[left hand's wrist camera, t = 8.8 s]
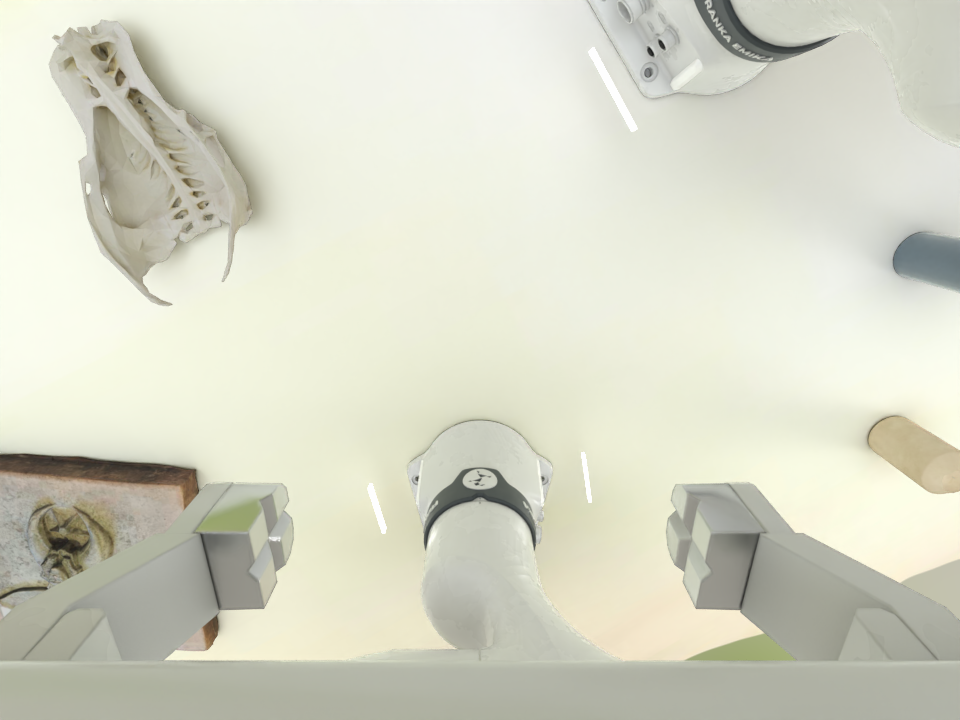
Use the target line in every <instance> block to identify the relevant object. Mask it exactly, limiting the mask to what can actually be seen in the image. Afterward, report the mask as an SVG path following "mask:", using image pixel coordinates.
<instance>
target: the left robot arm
mask: <svg viewBox="0 0 960 720" xmlns="http://www.w3.org/2000/svg"><path fill="white" fill-rule="evenodd" d="M582 460H583V467H584V475H585V482H586V489H587V496H588V501H589V502H591V494H590V487H589V479H588V472H587V465H586V457H585V454H584V452H582ZM407 473H408V477H409V480H410V484H411V487H412V491H413V494H414V497H415V501H416V505H417V508H418V511H419V514H420V518H421V521H422V525H423V528H424V546H425V550H426V555H425V562H424V570H423V577H422V584H421V600H422V605H423V608H424V611H425V613H426V615H427V617H428V619H429V621H430V622H431V624H432V625H433V627H434V628H435V630H436V631H437V632H438V634H439V635H440V636H441V637H442V638H443V639H444V640H445V641H447V642H448V643H449V644H451V645H452V646H454V647H455V648H457V649H394V650H388V651H384V652H379V653H374V654H369V655H364V656H360V657H356V658H352V659H348V660H344V661H163V660H164V659H166V658H167V657H168V656H169V655H170V654H172V653H173V652H174V651H175V650H176V649H177V648H179V647H180V646H181V645H182V644H183V643H184V642H186V641H187V640H188V639H189V638H190V637H191V636H193V635H194V634H195V633H196V632H197V631H198V630H200V629H201V628H202V627H203V626H204V625H205V624H207V623H208V622H209V621H210V620H211V619H212V618H214V617H215V616H216V615H217V614H218V613H219V610H239V609H264V608H265V606H266V604H267V602H268V600H269V598H270V596H271V594H272V592H273V590H274V587H275V585H276V583H277V578H276V571H277V570H279V569H280V568H282V567H283V566H284V565H286V562H287V560H288V558H289V556H290V553H291V549H292V544H293V522H292V518H291V517H290V516H289V515H288V514H287V513H286V512H285V511H284V509H285V507H286V505H287V503H288V502H289V498H288V493H287V488H286V487H285V486H284V485H283V484H282V483H233V482H212V483H209V484H206V485H205V486H204V487H203V489H202V490H201V491H200V492H199V493H198V494H197V496H196V497H195V498H194V499H193V500H192V502H191V503H190V504H189V505H188V506H187V507H186V509H185V510H184V511H183V512H182V513H181V514H180V516H179V517H178V518H177V519H176V520H175V521H174V523H173V524H172V525H171V526H170V527H169V529H168V530H167V531H166V532H165V533H156V534H154V535H153V536H151V537H149V538H147V539H145V540H143V541H141V542H139V543H137V544H135V545H133V546H131V547H129V548H127V549H125V550H123V551H121V552H120V553H118V554H116V555H114V556H112V557H110V558H108V559H106V560H104V561H102V562H100V563H98V564H96V565H94V566H92V567H90V568H89V569H87V570H85V571H83V572H81V573H79V574H77V575H75V576H73V577H71V578H69V579H67V580H65V581H63V582H61V583H59V584H57V585H56V586H54V587H52V588H50V589H48V590H46V591H44V592H42V593H40V594H38V595H36V596H34V597H32V598H30V599H28V600H26V601H25V602H23V603H21V604H19V605H17V606H15V607H14V608H13V609H12V610H11V611H10V612H9V613H8V614H7V615H6V616H5V617H4V618H3V619H2V620H0V720H960V620H959V619H958V618H957V617H956V616H955V615H954V614H952V613H951V612H950V611H949V610H948V609H947V608H946V607H945V606H943V605H941V604H939V603H937V602H935V601H933V600H931V599H929V598H927V597H925V596H924V595H922V594H920V593H918V592H916V591H914V590H912V589H910V588H908V587H906V586H904V585H902V584H900V583H898V582H896V581H895V580H893V579H891V578H889V577H887V576H885V575H883V574H881V573H879V572H877V571H875V570H873V569H871V568H869V567H867V566H866V565H864V564H862V563H860V562H858V561H856V560H854V559H852V558H850V557H848V556H846V555H844V554H842V553H840V552H838V551H836V550H835V549H833V548H831V547H829V546H827V545H825V544H823V543H821V542H819V541H817V540H815V539H813V538H811V537H809V536H807V535H806V534H804V533H795V532H794V531H793V530H792V529H791V527H790V526H789V525H788V524H787V523H786V522H785V520H784V519H783V518H782V517H781V516H780V514H779V513H778V512H777V511H776V510H775V509H774V507H773V506H772V505H771V504H770V503H769V502H768V500H767V499H766V498H765V497H764V496H763V495H762V493H761V492H760V491H759V490H758V489H757V488H756V486H755V485H753V484H751V483H749V482H736V483H720V484H676V485H675V487H674V489H673V492H672V497H671V502H672V503H673V505H674V507H675V509H676V511H675V512H674V513H673V514H672V515H671V516H670V517H669V518H668V522H667V530H666V534H667V546H668V549H669V553H670V556H671V558H672V560H673V562H674V565H676V566H677V567H678V568H680V569H681V570H683V571H684V578H683V583H684V585H685V587H686V590H687V592H688V594H689V596H690V598H691V600H692V602H693V604H694V606H695V608H696V609H721V610H741V611H740V612H741V613H742V614H743V615H744V616H745V617H747V618H748V619H749V620H750V621H751V622H752V623H754V624H755V625H756V626H757V627H758V628H759V629H761V630H762V631H763V632H764V633H765V634H767V635H768V636H769V637H770V638H771V639H772V640H773V641H775V642H776V643H777V644H778V645H779V646H781V647H782V648H783V649H784V650H785V651H786V652H787V653H789V654H790V655H791V656H792V657H793V658H794V659H796V660H797V661H624V660H622V659H620V658H618V657H616V656H614V655H612V654H610V653H608V652H606V651H605V650H603V649H601V648H600V647H598V646H597V645H595V644H594V643H592V642H591V641H589V640H588V639H587V638H585V637H584V636H583V635H582V634H580V633H579V632H578V631H577V630H576V629H575V628H574V627H573V626H572V625H570V624H569V623H568V622H567V621H566V620H565V619H564V617H563V616H562V615H561V614H560V613H559V612H558V611H557V609H556V608H555V607H554V606H553V604H552V603H551V601H550V600H549V598H548V597H547V595H546V593H545V591H544V589H543V587H542V584H541V580H540V576H539V573H538V568H537V564H536V559H535V554H534V551H535V546H536V544H539V543H540V541H541V535H542V529H541V526H540V525H538V521H539V522H540V521H541V522H542V521H543V518H544V511H543V510H542V508H543V505H544V501H545V497H546V494H547V491H548V487H549V484H550V481H551V477H552V473H553V468H552V464H551V463H550V462H549V461H548V460H546V459H545V458H543V457H542V456H540V455H538V454H536V453H535V452H534V451H533V450H532V449H531V447H530V446H529V444H528V443H527V442H526V440H525V439H524V438H523V437H522V436H521V435H520V434H519V433H517V432H516V431H514V430H513V429H511V428H509V427H507V426H505V425H503V424H500V423H497V422H492V421H485V420H475V421H468V422H463V423H460V424H457V425H455V426H453V427H451V428H449V429H447V430H446V431H444V432H443V433H442V434H440V435H439V436H438V437H437V438H436V439H435V440H434V442H433V443H432V444H431V446H430V447H429V449H428V450H427V451H426V452H425V453H424V454H422V455H420V456H419V457H417V458H415V459H414V460H412V461H411V462H410V463H409V464H408V469H407ZM417 476H419V478H417ZM541 476H543V478H541ZM368 491H369V494H370V497H371V500H372V503H373V506H374V509H375V512H376V515H377V518H378V521H379V524H380V527H381V530H382V533H385V530H386V526H385V523H384V520H383V516H382V513H381V510H380V507H379V504H378V501H377V498H376V495H375V492H374V488H373V485H372V484H369V487H368Z"/></svg>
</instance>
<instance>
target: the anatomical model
mask: <svg viewBox="0 0 960 720" xmlns="http://www.w3.org/2000/svg"><path fill="white" fill-rule="evenodd" d="M91 29H92V35H91V33H90V32H89V30H88V29H87V27H78V28H77V30H78V32H76V31H75V30H73V29H72V28H70V27H69V29H68V30H67V32H66V33H65V34H64V35H63V36H62V37H59V36H57V35H54V36H53V39H54V40H55V41H57V42H58V43H59V44H60V45H58V46H57V47H56V49H55V50H54V52H53V55H52V57H51V60H50V62H49V67H50V71H51V75H52V78H53V79H54V81H55V83H56V84H57V86H58V88H59V89H60V91H61V93H62V94H63V96H64V98H65V99H66V101H67V103H68V104H69V106H70V108H71V109H72V111H73V113H74V115H75V116H76V118H77V120H78V122H79V123H80V125H81V127H82V129H83V131H84V133H85V135H86V140H87V155H86V156H85V157H84V158H82V159H81V160H80V161H79V168H80V177H81V184H82V190H83V196H84V202H85V207H86V212H87V217H88V220H89V223H90V226H91V229H92V231H93V234H94V237H95V239H96V242H97V244H98V247H99V249H100V252H101V253H102V254H103V255H104V256H105V257H106V258H107V259H108V260H109V261H110V262H111V263H112V264H113V265H114V266H115V267H116V268H117V269H118V270H119V271H120V272H121V273H122V274H124V275H125V276H126V278H127V279H128V280H129V281H130V282H131V283H132V284H133V285H134V286H135V287H136V288H137V289H138V290H139V291H140V292H141V293H142V294H143V295H144V296H146V297H147V298H148V299H149V300H150V301H151V302H153V303H155V304H158V305H162V306H170V305H172V304H171V303H168V302H165V301H163V300H160V299H159V298H157V297H156V296H154V295H152V294H150V293H149V291H148V289H147V288H146V286H145V285H144V284H143V278H142V277H143V276H145V275H146V274H147V272H148V271H149V269H150V268H151V267H152V266H154V265H155V264H156V263H159V262H164V261H165V260H167V259H168V258H169V256H170V254H171V252H172V251H173V249H174V247H175V246H176V244H177V243H176V241H175V240H174V239H175V238H177V237H179V240H181V241H183V242H185V243H187V242H188V241H190V240H191V239H193V238H194V237H196V236H197V235H198V234H200V233H205V232H206V231H207V230H208V229H209V228H216V227H221V221H223V222H227V223H229V243H228V263H227V266H226V270H225V273H224V276H223V279H222V282H224V280H225V279H226V277H227V276H228V274H229V271H230V267H231V263H232V256H233V249H234V238H235V234H236V233H237V231H238V229H239V228H240V227H241V226H243V225H246V223H247V222H248V221H249V219H250V216H251V215H252V214H253V212H252V208H251V204H250V201H249V197H248V193H247V186H246V184H245V182H244V180H243V178H242V176H241V174H240V173H239V172H238V170H237V169H236V167H235V166H234V164H233V163H232V161H231V160H230V158H229V156H228V155H227V153H226V152H225V150H224V149H223V147H222V145H221V144H220V142H219V141H218V139H217V134H216V131H215V130H214V129H213V128H211V127H209V126H207V125H204V124H202V123H200V122H199V121H198V120H197V119H196V118H195V116H194V115H191V114H189V113H187V112H186V111H185V110H184V109H181V110H177V109H175V108H174V107H172V106H171V105H169V104H168V103H167V102H166V101H165V100H164V99H163V97H162V96H161V95H160V93H159V92H158V90H157V89H156V88H155V86H154V85H153V83H152V82H151V81H150V79H149V78H148V76H147V75H146V74H145V72H144V70H143V68H142V66H141V64H140V62H139V60H138V58H137V56H136V54H135V52H134V49H133V46H132V43H131V40H130V36H129V34H128V33H127V32H126V30H125V29H124V28H123V27H122V26H121V25H120V24H119V23H118V22H117V21H106V20H101V21H100V23H99V24H98V25H95V26H92V28H91ZM139 98H140V100H141V102H142V104H143V105H142V104H140V103H138V101H139ZM145 110H146V111H147V112H144V111H145ZM150 117H151V119H152V120H153V121H152V120H150ZM177 129H178V130H180V132H179V131H178V130H177ZM132 154H133V155H132ZM131 155H132V157H131ZM86 183H90V186H91V192H90V194H89V195H87V193H86ZM102 194H103V195H104V196H105V198H106V199H107V203H108V206H109V210H110V212H111V214H110V212H109V211H108V209H107V207H106V205H105V201H104V197H103V195H102ZM207 203H209V204H208V205H207V206H206V204H207ZM177 205H178V206H177ZM212 214H213V217H212V220H208V219H207V218H206V216H208V215H212ZM111 215H112V216H111ZM182 215H183V219H182V218H179V216H182ZM112 217H113V218H112ZM220 220H221V221H220ZM190 223H192V226H193V227H192V228H191V229H190V230H188V231H187V230H186V228H187V227H188V226H189V225H190Z"/></svg>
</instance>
